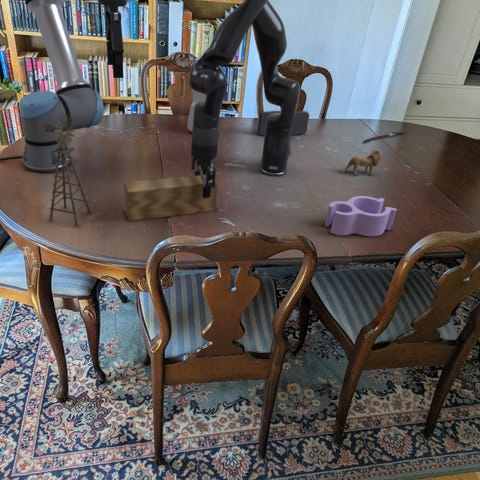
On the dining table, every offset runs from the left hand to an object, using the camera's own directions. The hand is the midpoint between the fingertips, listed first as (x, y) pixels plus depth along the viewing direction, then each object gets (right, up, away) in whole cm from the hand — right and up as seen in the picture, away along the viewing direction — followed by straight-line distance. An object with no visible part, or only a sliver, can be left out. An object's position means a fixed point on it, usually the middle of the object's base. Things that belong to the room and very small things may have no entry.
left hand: (115, 71), depth 135 cm
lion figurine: (+82, -23, +43) cm, 96 cm away
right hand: (+25, -34, +7) cm, 42 cm away
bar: (+15, -40, +6) cm, 43 cm away
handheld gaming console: (+54, -2, +71) cm, 90 cm away
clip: (+72, -45, +8) cm, 85 cm away
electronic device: (+20, -2, +66) cm, 69 cm away
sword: (+103, -2, +80) cm, 130 cm away
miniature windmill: (-12, -42, -2) cm, 44 cm away
